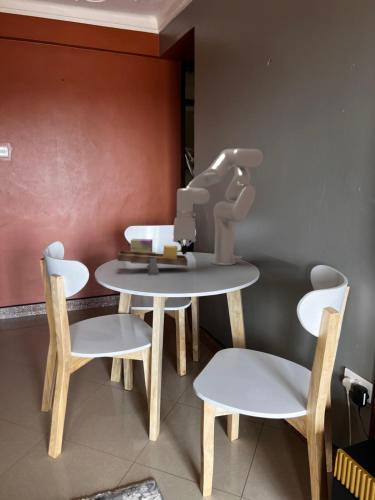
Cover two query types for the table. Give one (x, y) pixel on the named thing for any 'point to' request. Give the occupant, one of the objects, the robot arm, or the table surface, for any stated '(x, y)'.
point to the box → (141, 246)
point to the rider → (170, 252)
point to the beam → (145, 257)
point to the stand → (152, 266)
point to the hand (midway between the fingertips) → (184, 253)
